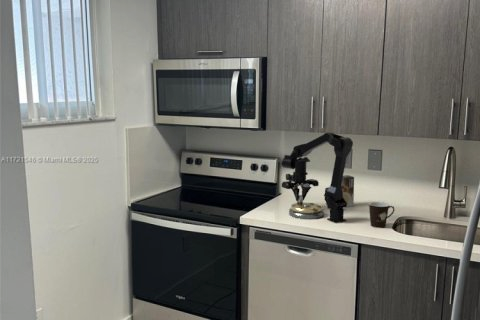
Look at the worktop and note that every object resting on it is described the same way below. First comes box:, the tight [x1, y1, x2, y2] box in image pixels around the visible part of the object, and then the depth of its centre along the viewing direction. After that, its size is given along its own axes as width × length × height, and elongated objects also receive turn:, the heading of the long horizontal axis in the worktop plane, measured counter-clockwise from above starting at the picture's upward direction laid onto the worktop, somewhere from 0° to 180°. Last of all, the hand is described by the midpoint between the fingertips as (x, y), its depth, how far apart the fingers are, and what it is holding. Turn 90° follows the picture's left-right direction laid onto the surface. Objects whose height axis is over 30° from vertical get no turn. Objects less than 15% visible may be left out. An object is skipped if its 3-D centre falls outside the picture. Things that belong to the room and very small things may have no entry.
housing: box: [288, 208, 325, 220], centre depth 217 cm, size 17×17×2 cm
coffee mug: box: [368, 201, 395, 229], centre depth 197 cm, size 12×9×10 cm
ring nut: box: [290, 194, 323, 214], centre depth 217 cm, size 15×15×6 cm
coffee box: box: [341, 174, 355, 208], centre depth 234 cm, size 9×6×16 cm
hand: (299, 200), depth 222 cm, fingers closed on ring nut, 3 cm apart
